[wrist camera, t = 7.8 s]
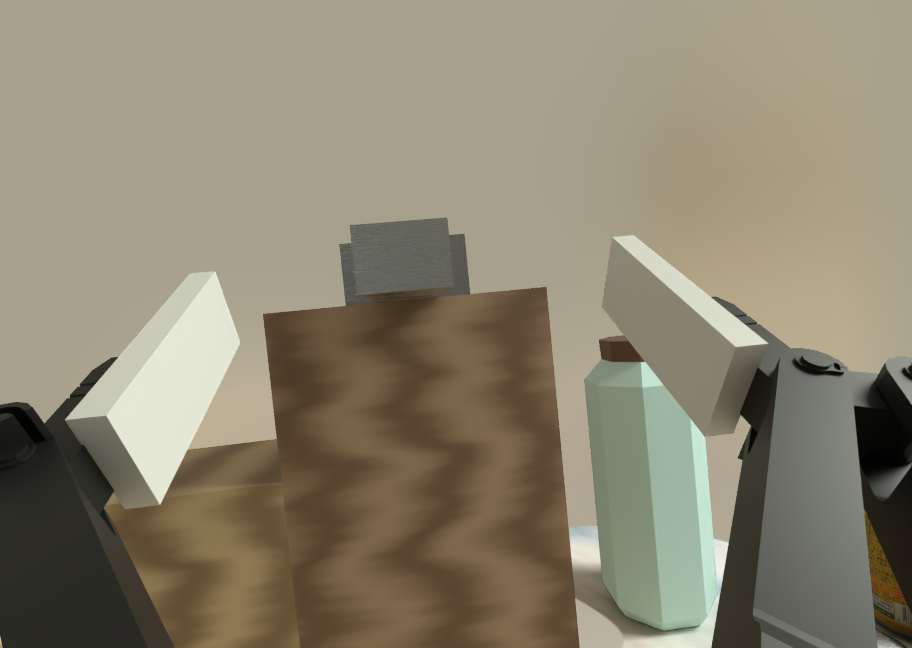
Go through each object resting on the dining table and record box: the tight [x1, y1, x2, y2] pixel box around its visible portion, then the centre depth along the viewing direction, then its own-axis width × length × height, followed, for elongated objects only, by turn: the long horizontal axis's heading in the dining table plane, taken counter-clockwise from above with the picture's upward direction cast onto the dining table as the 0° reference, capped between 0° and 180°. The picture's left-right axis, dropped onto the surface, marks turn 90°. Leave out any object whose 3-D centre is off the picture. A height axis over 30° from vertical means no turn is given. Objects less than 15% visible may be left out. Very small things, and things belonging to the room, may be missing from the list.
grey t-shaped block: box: [340, 218, 470, 306], centre depth 27 cm, size 8×21×4 cm, turn 6°
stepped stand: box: [104, 287, 579, 648], centre depth 33 cm, size 32×11×30 cm, turn 96°
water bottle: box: [584, 336, 718, 631], centre depth 43 cm, size 10×10×25 cm
